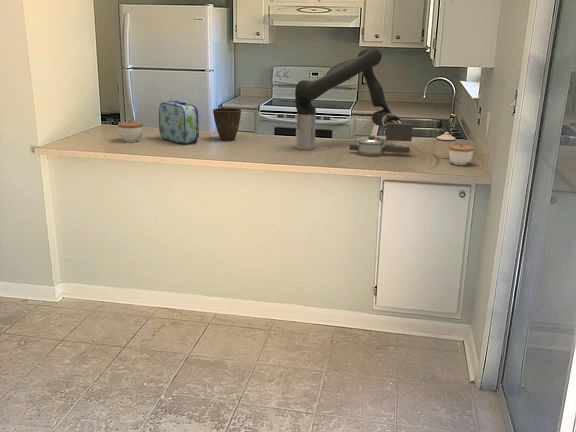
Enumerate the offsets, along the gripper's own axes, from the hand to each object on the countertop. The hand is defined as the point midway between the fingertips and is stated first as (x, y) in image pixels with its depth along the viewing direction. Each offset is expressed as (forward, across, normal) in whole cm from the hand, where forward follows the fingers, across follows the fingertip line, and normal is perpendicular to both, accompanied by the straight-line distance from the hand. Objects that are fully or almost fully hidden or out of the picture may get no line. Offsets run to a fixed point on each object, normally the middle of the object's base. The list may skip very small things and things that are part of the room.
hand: (401, 127), depth 282 cm
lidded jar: (+22, +21, +13) cm, 33 cm away
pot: (-2, -10, +13) cm, 16 cm away
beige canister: (+5, +21, +13) cm, 25 cm away
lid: (-1, -8, +7) cm, 11 cm away
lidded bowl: (-41, -132, +13) cm, 139 cm away
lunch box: (-39, -107, +13) cm, 115 cm away
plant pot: (-42, -82, +13) cm, 93 cm away
